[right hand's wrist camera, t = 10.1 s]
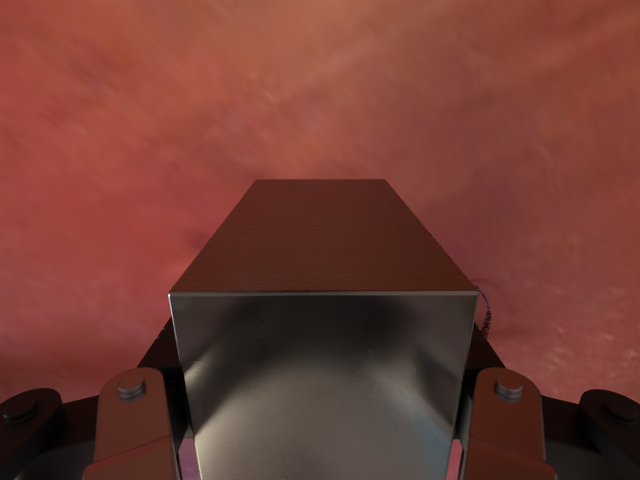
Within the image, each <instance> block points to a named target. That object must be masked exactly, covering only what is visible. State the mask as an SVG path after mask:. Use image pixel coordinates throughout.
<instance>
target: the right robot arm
mask: <svg viewBox="0 0 640 480" xmlns="http://www.w3.org/2000/svg"><path fill="white" fill-rule="evenodd" d="M183 438H193V435H192V429H191V423H190V418H189V412H188V406H187V400H186V395H185V389H184V383H183V377H182V372H181V366H180V360H179V354H178V348H177V343H176V337H175V331H174V325H173V320H172V316H171V317H170V319H169V320H168V322H167V323H166V325H165V326H164V329H163V330H162V331H161V332H160V334H159V335H158V338H157V339H156V340H155V341H154V343H153V344H152V345H151V347H150V348H149V350H148V351H147V353H146V354H145V356H144V357H143V359H142V360H141V362H140V363H139V365H138V366H137V368H135V369H131V370H128V371H125V372H123V373H121V374H119V375H117V376H115V377H114V378H112V379H111V380H110V381H109V382H107V383H106V384H105V386H104V387H103V388H102V390H101V391H100V394H99V395H97V396H94V397H89V398H85V399H81V400H76V401H72V402H68V403H64V404H63V403H62V400H61V397H60V394H59V393H58V392H57V391H56V390H54V389H50V388H39V389H33V390H29V391H26V392H23V393H20V394H18V395H15V396H13V397H11V398H9V399H8V400H6V401H4V402H3V403H1V404H0V480H183V477H182V471H181V464H180V458H179V453H178V451H179V448H180V446H181V443H182V441H183ZM453 439H459V440H460V442H461V445H462V447H463V448H462V453H461V458H460V464H459V470H458V477H457V480H640V404H638V403H637V402H635V401H633V400H632V399H630V398H628V397H625V396H623V395H621V394H618V393H615V392H611V391H607V390H600V389H593V390H588V391H586V392H584V393H583V394H582V396H581V399H580V402H579V404H576V403H571V402H567V401H563V400H558V399H554V398H550V397H546V396H543V395H541V394H540V391H539V390H538V388H537V387H536V386H535V384H534V383H533V382H531V381H530V380H529V379H528V378H526V377H525V376H523V375H521V374H519V373H517V372H515V371H512V370H509V369H506V367H505V366H504V365H503V363H502V362H501V360H500V359H499V357H498V356H497V354H496V353H495V351H494V350H493V348H492V347H491V346H490V344H489V343H488V341H487V340H486V339H485V337H484V335H483V334H482V332H481V331H480V330H479V329H478V327H477V325H476V324H475V322H474V325H473V331H472V336H471V342H470V347H469V353H468V359H467V364H466V370H465V375H464V381H463V386H462V392H461V398H460V403H459V409H458V414H457V420H456V426H455V431H454V437H453Z"/></svg>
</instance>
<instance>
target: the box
mask: <svg viewBox="0 0 640 480" xmlns="http://www.w3.org/2000/svg"><path fill="white" fill-rule="evenodd" d="M168 296H169V302H170V308H171V314H172V320H173V325H174V331H175V337H176V343H177V348H178V354H179V360H180V366H181V372H182V377H183V383H184V389H185V395H186V400H187V406H188V412H189V418H190V423H191V429H192V435H193V441H194V447H195V452H196V458H197V464H198V470H199V475H200V480H446V476H447V470H448V465H449V459H450V453H451V448H452V442H453V437H454V431H455V426H456V420H457V414H458V409H459V403H460V398H461V392H462V386H463V381H464V375H465V370H466V364H467V359H468V353H469V347H470V342H471V336H472V331H473V325H474V319H475V314H476V308H477V303H478V297H479V292H478V290H477V289H476V288H475V287H474V285H473V284H472V283H471V282H470V281H469V279H468V278H467V277H466V276H465V275H464V273H463V272H462V271H461V270H460V269H459V267H458V266H457V265H456V264H455V263H454V261H453V260H452V259H451V258H450V257H449V255H448V254H447V253H446V252H445V251H444V249H443V248H442V247H441V246H440V245H439V243H438V242H437V241H436V240H435V239H434V237H433V236H432V235H431V234H430V233H429V231H428V230H427V229H426V228H425V227H424V225H423V224H422V223H421V222H420V221H419V219H418V218H417V217H416V216H415V215H414V213H413V212H412V211H411V210H410V209H409V207H408V206H407V205H406V204H405V203H404V201H403V200H402V199H401V198H400V197H399V195H398V194H397V193H396V192H395V191H394V189H393V188H392V187H391V186H390V185H389V184H388V182H387V181H386V180H385V179H257V180H255V182H254V183H253V184H252V186H251V187H250V188H249V189H248V191H247V192H246V193H245V195H244V196H243V197H242V198H241V200H240V201H239V202H238V204H237V205H236V206H235V207H234V209H233V210H232V211H231V213H230V214H229V215H228V216H227V218H226V219H225V220H224V222H223V223H222V224H221V226H220V227H219V228H218V229H217V231H216V232H215V233H214V235H213V236H212V237H211V238H210V240H209V241H208V242H207V244H206V245H205V246H204V247H203V249H202V250H201V251H200V253H199V254H198V255H197V256H196V258H195V259H194V260H193V262H192V263H191V264H190V265H189V267H188V268H187V269H186V271H185V272H184V273H183V275H182V276H181V277H180V278H179V280H178V281H177V282H176V284H175V285H174V286H173V287H172V289H171V290H170V291H169V294H168Z"/></svg>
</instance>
